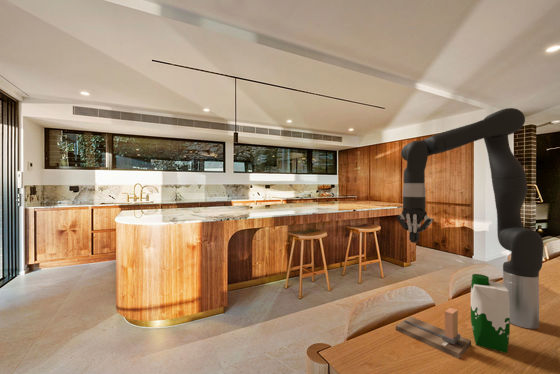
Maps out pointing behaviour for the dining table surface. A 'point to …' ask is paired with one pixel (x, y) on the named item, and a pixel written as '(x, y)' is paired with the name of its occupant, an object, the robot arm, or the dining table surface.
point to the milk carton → (490, 313)
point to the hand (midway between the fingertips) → (413, 242)
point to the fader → (451, 326)
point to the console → (432, 336)
